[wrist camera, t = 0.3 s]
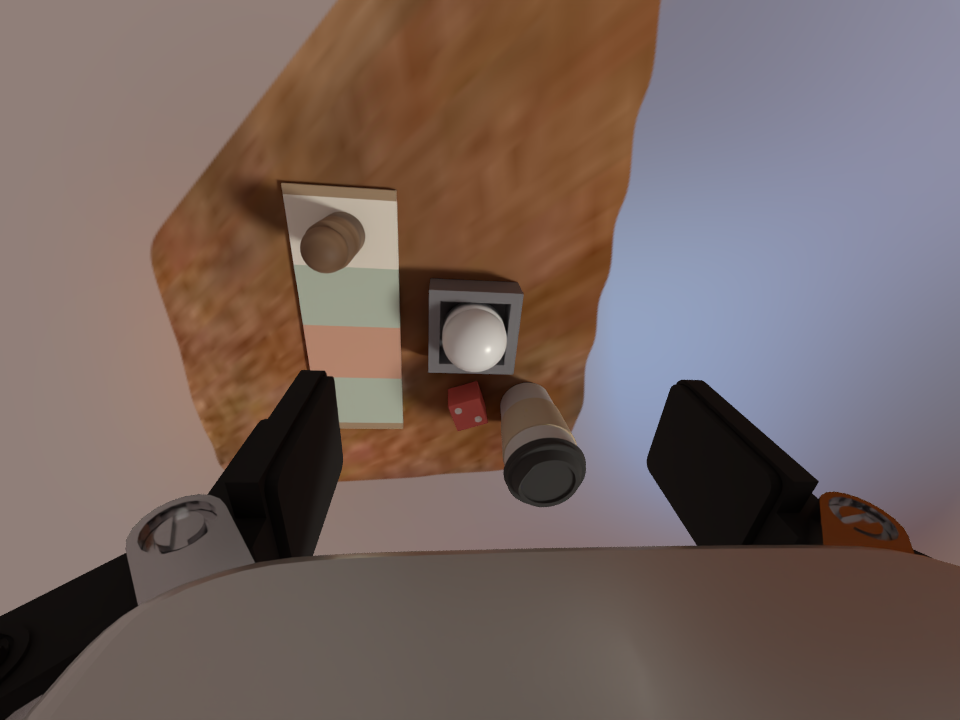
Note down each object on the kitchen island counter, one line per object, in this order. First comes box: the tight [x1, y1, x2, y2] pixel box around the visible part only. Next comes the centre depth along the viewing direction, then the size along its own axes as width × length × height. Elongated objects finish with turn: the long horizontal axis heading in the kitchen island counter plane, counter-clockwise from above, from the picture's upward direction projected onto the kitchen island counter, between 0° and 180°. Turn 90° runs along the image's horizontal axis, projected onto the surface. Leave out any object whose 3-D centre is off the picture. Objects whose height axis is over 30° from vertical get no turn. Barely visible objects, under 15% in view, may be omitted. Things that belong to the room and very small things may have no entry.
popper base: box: [428, 278, 523, 375], centre depth 46 cm, size 10×10×4 cm
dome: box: [442, 302, 507, 372], centre depth 43 cm, size 7×7×7 cm
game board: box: [281, 183, 403, 429], centre depth 46 cm, size 30×11×1 cm, turn 176°
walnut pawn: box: [300, 212, 365, 273], centre depth 37 cm, size 4×4×9 cm
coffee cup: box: [500, 383, 586, 507], centre depth 47 cm, size 9×9×15 cm
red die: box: [448, 381, 488, 431], centre depth 51 cm, size 4×4×4 cm
